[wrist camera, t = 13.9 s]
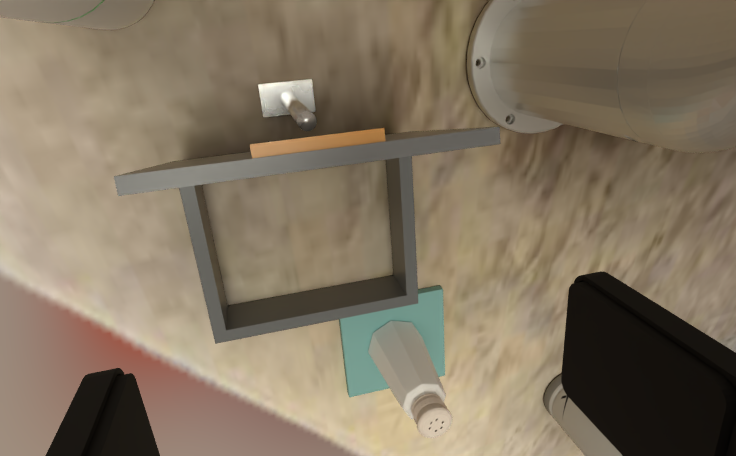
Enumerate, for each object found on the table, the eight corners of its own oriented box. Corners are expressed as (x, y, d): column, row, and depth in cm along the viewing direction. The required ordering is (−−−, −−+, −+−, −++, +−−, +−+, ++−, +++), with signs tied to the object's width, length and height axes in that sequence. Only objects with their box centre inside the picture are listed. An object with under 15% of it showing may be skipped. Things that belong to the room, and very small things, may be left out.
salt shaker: (356, 354, 46) (387, 440, 36) (389, 309, 45) (431, 385, 35) (399, 374, 48) (441, 462, 38) (432, 332, 47) (483, 410, 37)
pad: (439, 285, 46) (442, 289, 45) (442, 370, 50) (444, 375, 49) (337, 305, 44) (339, 309, 43) (347, 392, 48) (349, 397, 47)
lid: (410, 142, 36) (409, 123, 36) (500, 143, 23) (498, 113, 23) (175, 173, 33) (171, 152, 33) (118, 196, 20) (110, 161, 19)
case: (395, 133, 40) (410, 142, 36) (404, 282, 45) (418, 303, 41) (182, 160, 37) (175, 173, 33) (217, 317, 42) (215, 343, 38)
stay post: (310, 78, 37) (342, 93, 25) (314, 110, 38) (346, 139, 26) (257, 84, 36) (264, 102, 24) (263, 116, 37) (271, 149, 25)
